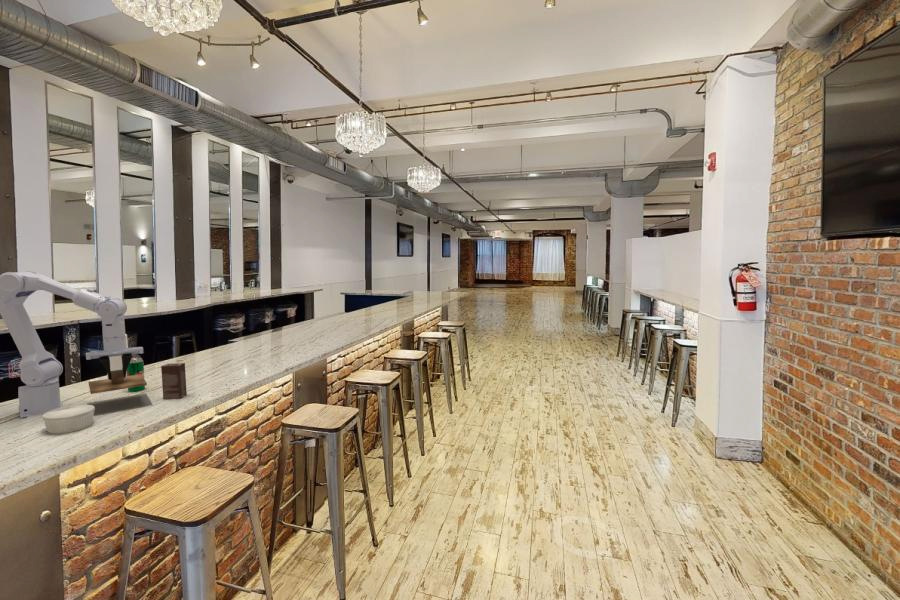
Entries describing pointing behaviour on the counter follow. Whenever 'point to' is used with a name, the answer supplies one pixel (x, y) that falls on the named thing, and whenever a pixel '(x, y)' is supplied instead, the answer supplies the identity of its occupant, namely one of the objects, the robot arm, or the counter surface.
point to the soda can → (136, 372)
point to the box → (174, 381)
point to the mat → (120, 404)
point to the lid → (116, 382)
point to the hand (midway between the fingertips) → (117, 377)
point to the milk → (117, 361)
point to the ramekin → (69, 418)
